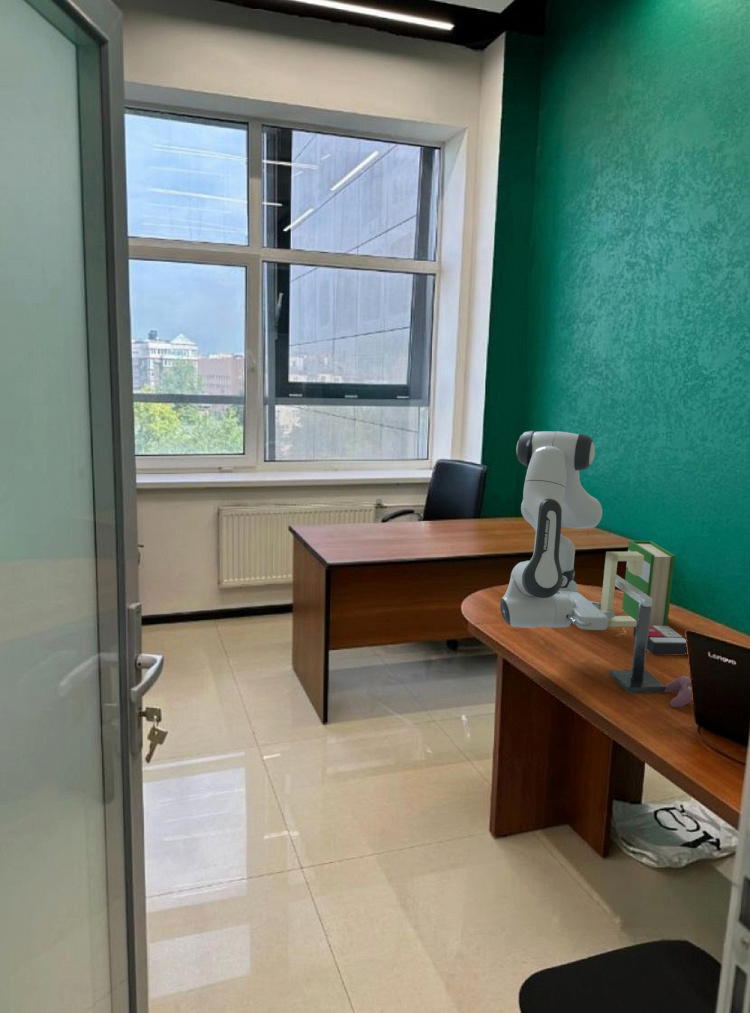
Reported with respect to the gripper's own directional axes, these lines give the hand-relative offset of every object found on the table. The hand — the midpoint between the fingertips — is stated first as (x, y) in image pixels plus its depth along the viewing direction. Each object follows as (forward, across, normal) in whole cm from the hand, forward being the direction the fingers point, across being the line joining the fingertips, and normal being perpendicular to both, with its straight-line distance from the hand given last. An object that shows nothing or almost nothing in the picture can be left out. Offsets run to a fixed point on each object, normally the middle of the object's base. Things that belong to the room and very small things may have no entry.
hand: (609, 610), depth 191 cm
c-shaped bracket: (+3, 0, +4) cm, 5 cm away
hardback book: (+27, +31, +15) cm, 44 cm away
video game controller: (+9, -24, +15) cm, 29 cm away
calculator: (+22, +10, +16) cm, 29 cm away
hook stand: (+2, -6, +15) cm, 16 cm away
